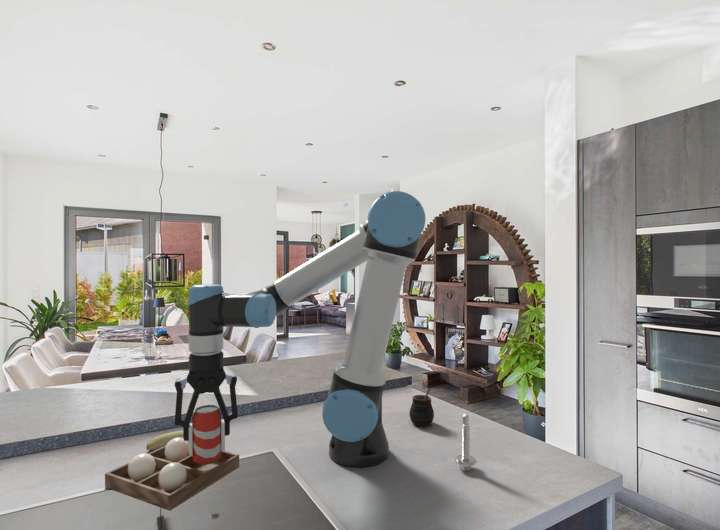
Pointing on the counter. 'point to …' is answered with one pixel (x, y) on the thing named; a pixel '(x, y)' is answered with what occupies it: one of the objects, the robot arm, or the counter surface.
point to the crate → (195, 483)
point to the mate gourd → (421, 410)
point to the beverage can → (206, 434)
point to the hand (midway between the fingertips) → (207, 451)
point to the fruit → (163, 440)
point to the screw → (465, 447)
